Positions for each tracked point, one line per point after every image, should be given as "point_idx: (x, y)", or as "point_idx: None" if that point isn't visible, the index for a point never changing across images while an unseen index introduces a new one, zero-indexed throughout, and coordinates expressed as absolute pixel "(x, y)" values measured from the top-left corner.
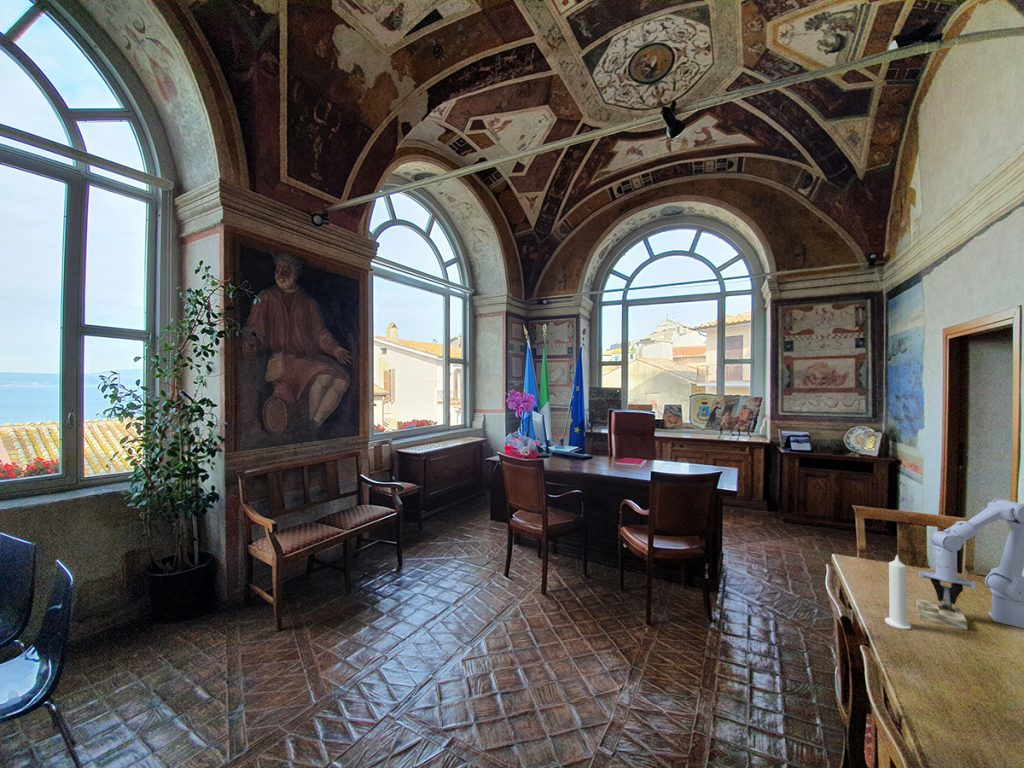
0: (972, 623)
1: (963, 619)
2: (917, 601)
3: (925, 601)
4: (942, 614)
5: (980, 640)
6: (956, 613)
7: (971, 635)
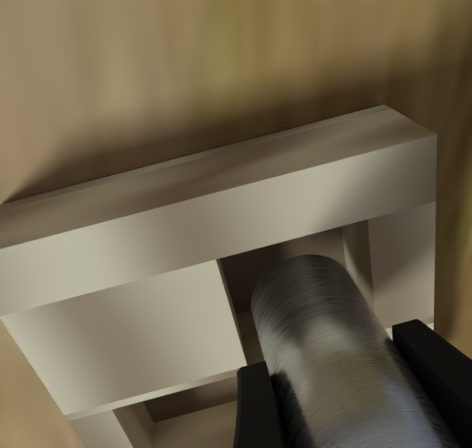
0: (459, 201)
1: None
2: (26, 342)
3: (86, 264)
4: None
5: None
6: None
7: None
